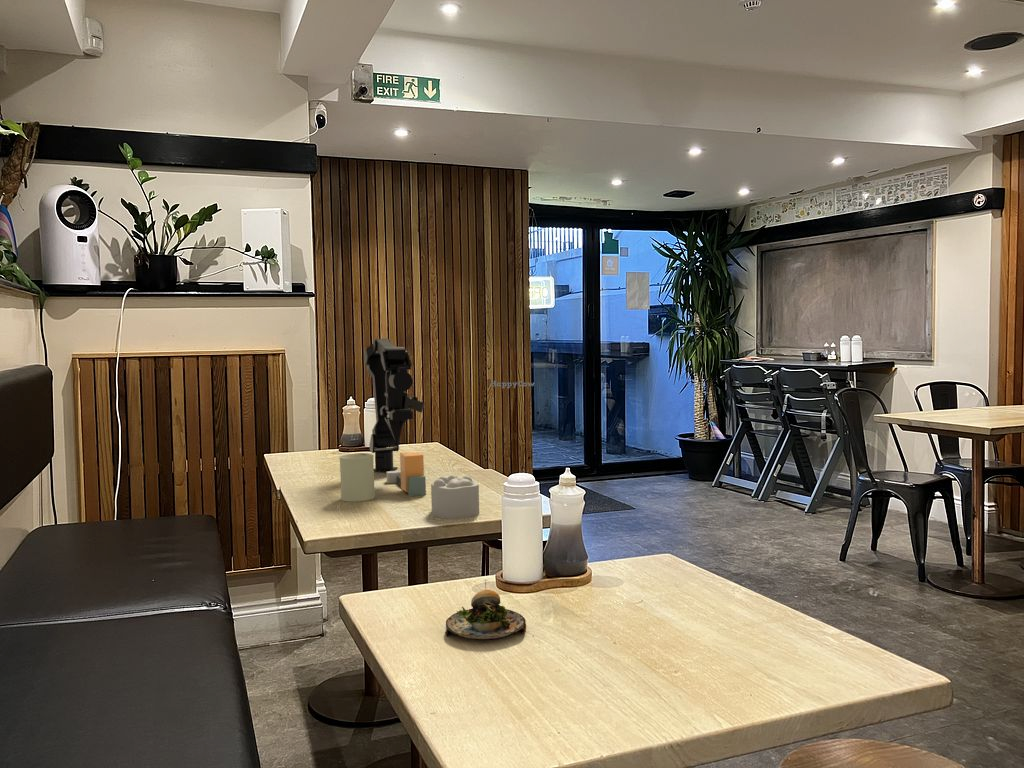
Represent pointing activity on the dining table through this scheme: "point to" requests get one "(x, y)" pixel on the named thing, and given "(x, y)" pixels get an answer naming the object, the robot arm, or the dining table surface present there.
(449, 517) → the lumpy-topped squat cylinder
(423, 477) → the toy mallet
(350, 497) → the can
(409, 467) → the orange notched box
